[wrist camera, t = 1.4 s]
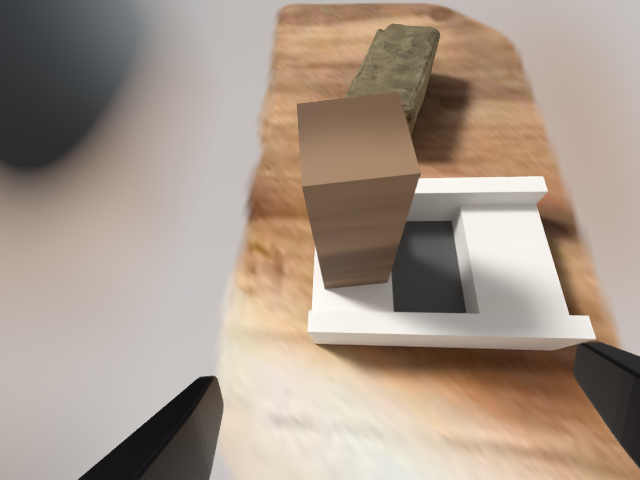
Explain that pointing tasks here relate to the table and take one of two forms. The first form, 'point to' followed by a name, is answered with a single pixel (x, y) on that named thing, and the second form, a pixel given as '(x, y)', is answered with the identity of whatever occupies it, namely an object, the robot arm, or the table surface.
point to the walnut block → (357, 184)
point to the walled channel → (459, 276)
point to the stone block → (398, 66)
